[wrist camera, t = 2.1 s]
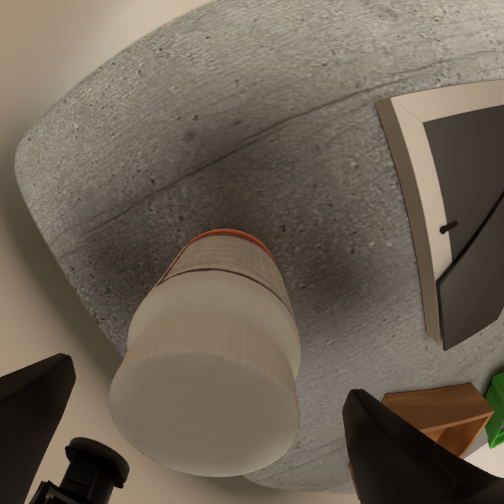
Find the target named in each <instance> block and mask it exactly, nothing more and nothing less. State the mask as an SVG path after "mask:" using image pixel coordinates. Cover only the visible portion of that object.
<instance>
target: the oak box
mask: <svg viewBox="0 0 504 504" xmlns="http://www.w3.org/2000/svg"><path fill="white" fill-rule="evenodd" d="M382 404H384V405H385V406H386V407H388V408H389V409H390V410H392V411H393V412H395V413H396V414H397V415H399V416H400V417H401V418H403V419H404V420H406V421H407V422H408V423H410V424H411V425H412V426H414V427H415V428H417V429H418V430H419V431H421V432H422V433H424V434H425V435H427V436H428V437H429V438H431V439H432V440H434V441H435V442H436V443H438V444H439V445H441V446H442V447H444V448H445V449H447V450H448V451H450V452H451V453H453V454H455V455H456V456H458V457H460V458H462V457H463V455H464V454H465V453H466V451H467V450H468V449H469V447H470V446H471V445H472V443H473V442H474V441H475V439H476V438H477V437H478V435H479V434H480V432H481V431H482V429H483V428H484V426H485V425H486V424H487V422H488V420H489V419H490V417H491V416H492V414H493V413H494V409H493V408H492V407H491V406H490V405H489V403H488V402H487V401H486V400H485V399H484V397H483V396H482V395H481V394H480V393H479V391H478V390H477V389H476V388H475V387H474V386H473V385H472V383H468V384H462V385H456V386H450V387H444V388H437V389H429V390H421V391H412V392H402V393H390V394H386V395H385V397H384V399H383V401H382ZM349 469H350V472H351V476H352V479H353V483H354V486H355V489H356V493H357V496H358V500H360V499H359V495H358V491H357V487H356V483H355V479H354V475H353V471H352V467H351V463H350V464H349Z"/></svg>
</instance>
